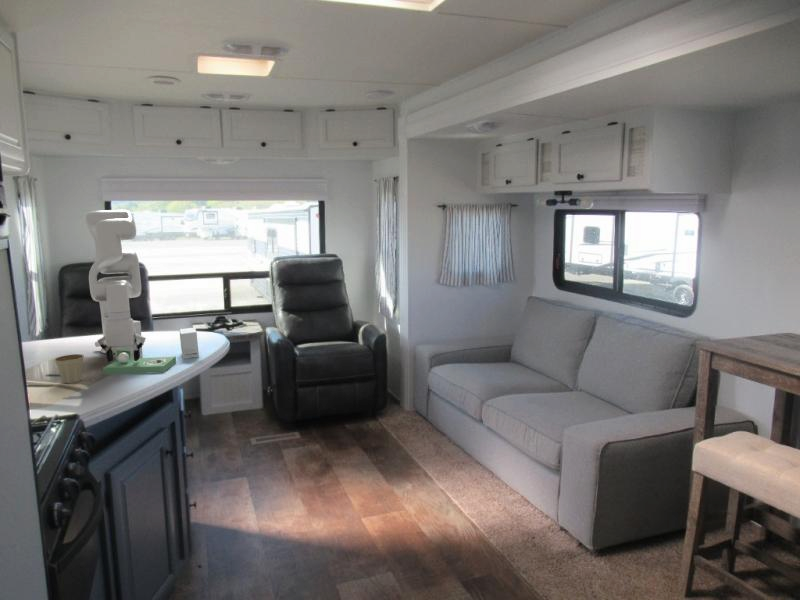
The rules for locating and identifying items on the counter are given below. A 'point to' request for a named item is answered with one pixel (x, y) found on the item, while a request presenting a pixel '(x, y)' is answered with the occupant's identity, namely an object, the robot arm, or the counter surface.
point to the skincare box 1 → (129, 349)
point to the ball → (123, 357)
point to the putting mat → (140, 365)
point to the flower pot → (70, 367)
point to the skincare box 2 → (189, 342)
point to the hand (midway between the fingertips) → (123, 360)
